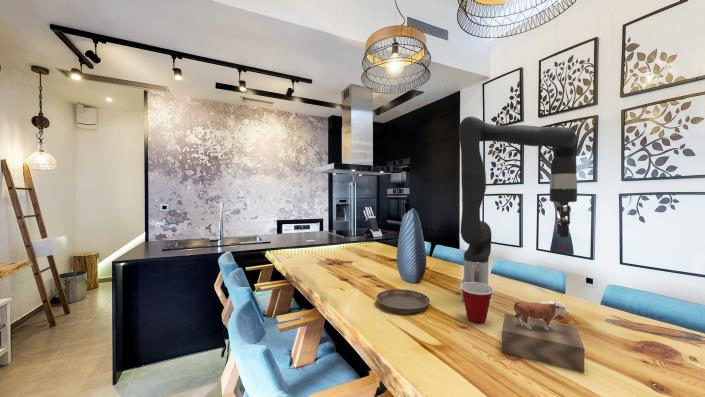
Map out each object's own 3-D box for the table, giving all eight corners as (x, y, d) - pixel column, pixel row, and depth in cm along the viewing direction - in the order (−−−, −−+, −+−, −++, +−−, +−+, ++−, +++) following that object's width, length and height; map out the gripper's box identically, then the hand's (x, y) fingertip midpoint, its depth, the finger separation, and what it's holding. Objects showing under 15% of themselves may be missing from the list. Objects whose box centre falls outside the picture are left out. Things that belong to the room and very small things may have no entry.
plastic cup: (459, 324, 97) (460, 289, 97) (459, 312, 107) (459, 280, 107) (495, 330, 93) (496, 293, 93) (491, 317, 103) (492, 283, 103)
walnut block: (501, 351, 80) (501, 330, 80) (504, 332, 92) (505, 313, 92) (584, 372, 70) (584, 348, 70) (576, 347, 82) (576, 326, 82)
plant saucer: (408, 321, 99) (408, 312, 99) (365, 304, 114) (365, 296, 114) (440, 307, 113) (440, 298, 113) (398, 293, 128) (398, 286, 128)
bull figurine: (571, 335, 77) (571, 304, 77) (515, 328, 81) (515, 299, 81) (563, 327, 82) (564, 299, 82) (511, 322, 85) (511, 294, 85)
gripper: (548, 188, 106) (547, 232, 106) (551, 187, 94) (550, 237, 94) (574, 188, 102) (573, 234, 102) (580, 187, 90) (579, 239, 90)
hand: (562, 235), depth 98 cm, fingers open, 8 cm apart
